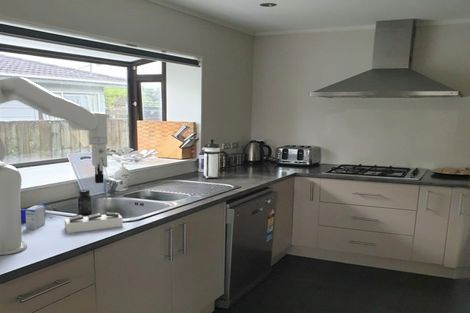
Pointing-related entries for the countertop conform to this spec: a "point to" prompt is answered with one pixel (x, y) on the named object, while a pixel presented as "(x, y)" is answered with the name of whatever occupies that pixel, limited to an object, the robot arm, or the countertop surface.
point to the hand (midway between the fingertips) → (99, 182)
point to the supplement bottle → (84, 203)
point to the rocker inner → (76, 218)
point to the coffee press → (213, 160)
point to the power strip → (92, 223)
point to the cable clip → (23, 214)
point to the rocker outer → (112, 214)
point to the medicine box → (35, 217)
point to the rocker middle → (94, 216)
